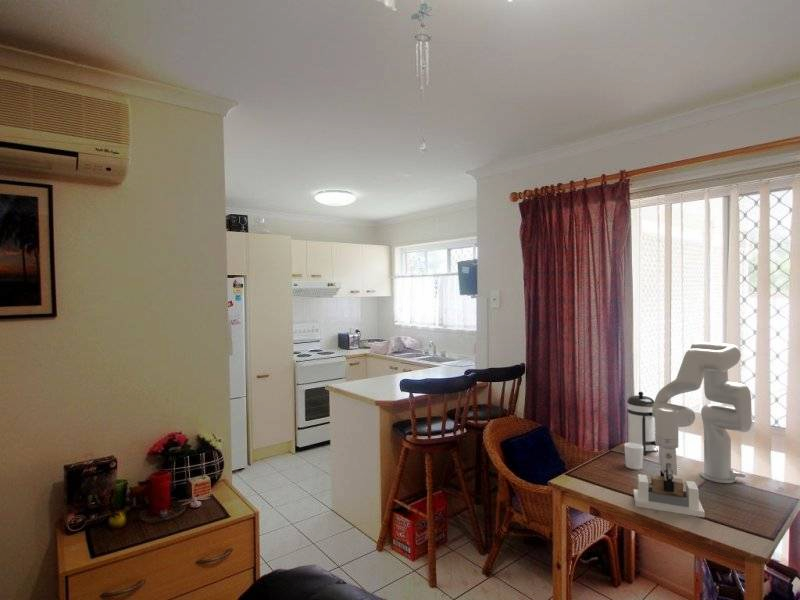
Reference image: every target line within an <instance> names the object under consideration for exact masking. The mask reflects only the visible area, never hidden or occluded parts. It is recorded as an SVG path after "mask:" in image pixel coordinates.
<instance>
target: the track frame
mask: <svg viewBox="0 0 800 600" xmlns="http://www.w3.org/2000/svg"><path fill="white" fill-rule="evenodd" d="M684 485H685V490H683V497H678V496H672V495H665V494H658V493H651V485H649V480H648V476H647V475H646V474H639V473H638V474H637V489H635V488H633V499H634V505H635V507H637V508H643V509H648V510H649V509H651V510H656V511H661V512H668V513H675V514H681V515H686V516H687V515H688V516H695V517H699V518H705V516H706V515H705V514H706V512H705V510H704V508H703V506H702V503H701V501H700V499H699V498H700V497H699V493H700V492H699V491H700V490H699V488H698V486H697V483H696V482H695V481H693V480H691V481H690V480H685V483H684Z"/></svg>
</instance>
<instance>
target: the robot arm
mask: <svg viewBox="0 0 800 600" xmlns="http://www.w3.org/2000/svg"><path fill="white" fill-rule="evenodd" d="M741 355H742V354H741V350H740V348H739V347H738V346H737V345H735V344H730V343H720V342H718V343H717V342H708V341H698V342H697V341H696V342H693V343H692V344H691V345H690V349H688V350H687V351H686V352H685V354H684V355H683V358H682V361H681V364H680V366H679V370H678V372H677V376H676V378H674V380H672V381H670V382H668V383H667V384H666V385H665V386H663V387H662V388H660V390H659V391H658V392H657V394H656V397H655V399H654V404H653V408H652V414H653V417H654V418H655V444H656V445H657V447H658V463H659V468H660V471H659V472H660V475H659V476H663V477H664V478H665V480H664V491H667V492H674V480H673V478H674V476H677V475H678V463H677V461H678V460H677V450H676V449H679V428H681V427H682V428H686V427H689V426H691V425H693V424H694V422H695V421H696V414H695V412H694V410H692V408H690V407H687V406H684V405H678V404H673V403H670V402H669V401H670V400H671V399H672V398H674V397H675V396H677V395H682V394H685V393H691V392H694V391H698V390H699V389H700V388H701V386H702V383H703V390H704V396H705V398H706V399H707V401H710V402H714V403H707V404H705V405H703V406H702V408H701V410H700V416H701V420H702V427H703V469H701V470H699V476H700V477H702V479H703V478H704V479H706V480H707V481H711V482H714V483H719V484H733V483H735V482H736V481H737V479H736V478H737V477H738V478H746V474H745V472H740V470H734V469H733V468H732V440H731V439H732V438H731V436H730V433H729V432H728V430H729V431H734V432H739V433H747V432H749V431H750V430H751V429H752V423H753V419H752V417H753V412H752V393H751V391H750V389H749V387H748V385H746V384H744V383H742V382H741V383H740V382H734V381H730V380H729V375H728V374H729V373H728V370H729V369H731V368H733V367H735V366H736V365H737V364H738V363H739V362H740V360H741V357H742V356H741ZM715 403H719V404H715ZM724 404H725V405H724ZM727 405H728V406H727ZM730 405H731V406H730ZM732 406H733V407H732Z"/></svg>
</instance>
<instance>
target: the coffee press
mask: <svg viewBox="0 0 800 600" xmlns="http://www.w3.org/2000/svg"><path fill="white" fill-rule="evenodd" d="M627 398H628V399H627V400H626V405H627V407H626V410H627V411H626V412H627V413H626V422H627V423H626V424H627V425H626V426H627V427H626V431H627V432H626V433H627V435H626V436H627V437H626V438H627V440H626V441H627V442H626V443H638V444H641V445H643V456H647V452H650V451H654V452H655V453H657V452H658V453H659V449H658V448H657V447H658V446H657V445H656V444H655V418H654V417H653V414H652V408H653V404H654V401H655V399H653V398H651V397H650V396H646V395H644V393H643V391H639V392H638V395H636V394H635V395H631V396H629V397H627ZM656 446H657V447H656ZM655 449H656V450H655ZM656 451H657V452H656Z"/></svg>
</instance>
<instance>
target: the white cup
mask: <svg viewBox="0 0 800 600" xmlns="http://www.w3.org/2000/svg"><path fill="white" fill-rule="evenodd" d="M623 445H624V447H623V448H624V458H625V459H624V460H625V467H626V468H628V469H632V470H642V469H643V462H644V455H643V445H641V444H638V443H627V442H625V443H624V444H623Z"/></svg>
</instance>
